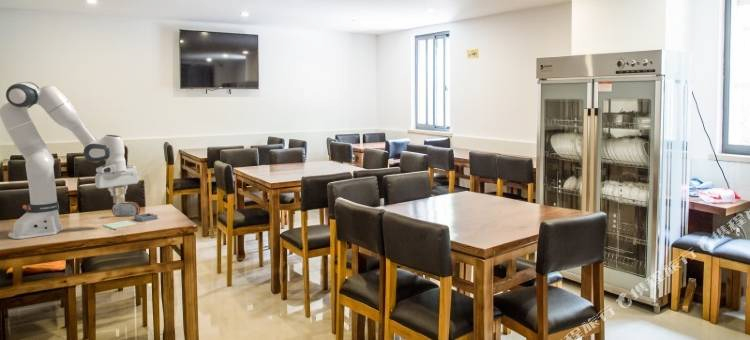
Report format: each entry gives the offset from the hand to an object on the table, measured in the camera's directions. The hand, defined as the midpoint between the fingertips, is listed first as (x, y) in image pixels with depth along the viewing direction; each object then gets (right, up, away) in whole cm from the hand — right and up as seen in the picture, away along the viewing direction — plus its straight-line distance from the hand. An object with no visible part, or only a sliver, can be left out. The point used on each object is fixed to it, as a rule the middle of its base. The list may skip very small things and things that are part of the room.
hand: (118, 194), depth 274 cm
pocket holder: (+8, -14, +13) cm, 21 cm away
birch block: (0, -4, +1) cm, 4 cm away
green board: (0, -16, +2) cm, 16 cm away
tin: (-7, -13, +23) cm, 28 cm away
